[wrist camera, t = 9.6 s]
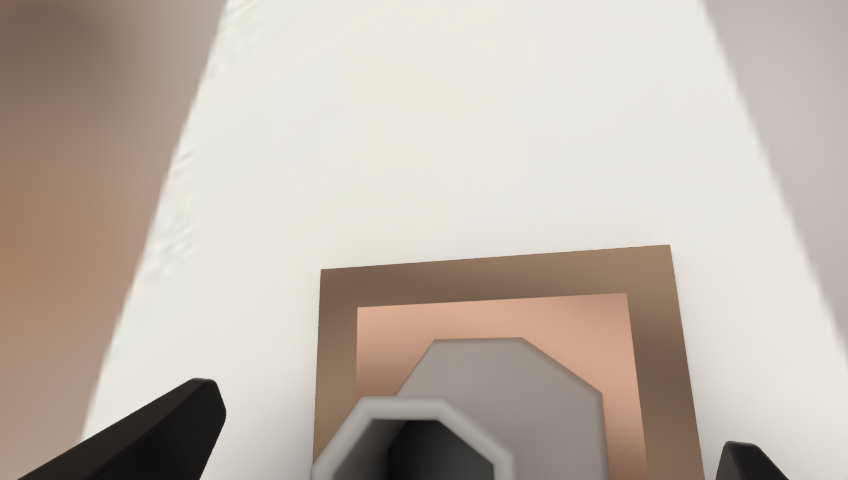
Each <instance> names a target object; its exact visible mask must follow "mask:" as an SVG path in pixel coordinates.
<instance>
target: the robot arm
mask: <svg viewBox="0 0 848 480" xmlns="http://www.w3.org/2000/svg"><path fill="white" fill-rule="evenodd" d="M225 419H226V408H225V405H224V402H223V399H222V397H221V394H220V391H219V388H218V385H217V383H216V382H215V381H214V380H211V379H204V378H193V379H191V380H189V381H187V382H185V383H183V384H182V385H180V386H178V387H177V388H175V389H173V390H171V391H170V392H168V393H166V394H165V395H163V396H161V397H159V398H158V399H156V400H154V401H152V402H151V403H149V404H147V405H146V406H144V407H142V408H140V409H139V410H137V411H135V412H133V413H132V414H130V415H128V416H127V417H125V418H123V419H121V420H120V421H118V422H116V423H114V424H113V425H111V426H109V427H108V428H106V429H104V430H102V431H101V432H99V433H97V434H95V435H94V436H92V437H90V438H89V439H87V440H85V441H83V442H82V443H80V444H78V445H76V446H75V447H73V448H71V449H70V450H68V451H66V452H65V453H63V454H61V455H59V456H57V457H56V458H54V459H52V460H51V461H49V462H47V463H45V464H44V465H42V466H40V467H39V468H37V469H35V470H33V471H31V472H30V473H28V474H26V475H25V476H23V477H21V478H19V479H18V480H200V477H201V475H202V473H203V471H204V468H205V466H206V464H207V462H208V459H209V457H210V455H211V452H212V450H213V448H214V446H215V443H216V441H217V439H218V437H219V434H220V432H221V430H222V427H223V425H224V423H225ZM716 480H789V479H788V478H787V477H786V476H785V475H784V474H783V473H782V472H781V471H780V470H779V468H778V467H777V466H776V465H775V464H774V463H773V462H772V461H771V460H770V459H769V457H768V456H767V455H766V454H765V453H764V452H763V451H762V450H761V449H760V448H759V447H758V446H756V445H755V444H751V443H744V442H735V441H728V442H726V443H725V445H724V447H723V451H722V455H721V459H720V463H719V467H718V471H717V475H716Z"/></svg>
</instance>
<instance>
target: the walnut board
mask: <svg viewBox="0 0 848 480" xmlns="http://www.w3.org/2000/svg"><path fill="white" fill-rule="evenodd" d="M507 337H523V338H524V339H526V340H527V341H528V342H530V343H531V344H533V345H534V346H536V347H537V348H538V349H540V350H541V351H543V352H544V353H546V354H547V355H548V356H550V357H551V358H553V359H554V360H556V361H557V362H559V363H560V364H561V365H563V366H564V367H566V368H567V369H569V370H570V371H571V372H573V373H574V374H576V375H577V376H579V377H580V378H582V379H583V380H584V381H586V382H587V383H589V384H590V385H592V386H593V387H594V388H596V389H597V390H599V391H600V392H602V398H603V409H604V420H605V432H606V443H607V454H608V466H609V477H610V480H705V478H704V472H703V465H702V458H701V451H700V445H699V438H698V431H697V424H696V418H695V411H694V404H693V397H692V391H691V384H690V377H689V371H688V364H687V357H686V350H685V344H684V337H683V330H682V323H681V317H680V310H679V303H678V296H677V290H676V283H675V276H674V269H673V263H672V256H671V249H670V245H657V246H643V247H629V248H615V249H601V250H587V251H573V252H559V253H545V254H531V255H517V256H503V257H489V258H475V259H461V260H447V261H433V262H419V263H405V264H391V265H377V266H363V267H349V268H336V269H322V270H321V278H320V302H319V326H318V350H317V374H316V398H315V422H314V446H313V464H314V463H315V462H316V460H317V459H318V457H319V456H320V455H321V453H322V452H323V450H324V449H325V448H326V446H327V445H328V443H329V442H330V441H331V439H332V438H333V436H334V435H335V434H336V432H337V431H338V429H339V428H340V427H341V425H342V424H343V422H344V421H345V420H346V418H347V417H348V415H349V414H350V413H351V411H352V410H353V408H354V407H355V406H356V404H357V403H358V401H359V400H360V399H361V397H366V396H395V394H396V393H397V391H398V390H399V389H400V387H401V386H402V384H403V383H404V381H405V380H406V379H407V377H408V376H409V374H410V373H411V372H412V370H413V369H414V367H415V366H416V365H417V363H418V362H419V360H420V359H421V357H422V356H423V355H424V353H425V352H426V350H427V349H428V348H429V346H430V345H431V343H432V342H433V340H434V339H467V338H507Z"/></svg>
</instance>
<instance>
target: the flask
mask: <svg viewBox="0 0 848 480" xmlns="http://www.w3.org/2000/svg"><path fill="white" fill-rule="evenodd" d="M311 480H610V477H609V466H608V454H607V443H606V432H605V420H604V409H603V398H602V392H600V391H599V390H597V389H596V388H594V387H593V386H592V385H590V384H589V383H587V382H586V381H584V380H583V379H582V378H580V377H579V376H577V375H576V374H574V373H573V372H571V371H570V370H569V369H567V368H566V367H564V366H563V365H561V364H560V363H559V362H557V361H556V360H554V359H553V358H551V357H550V356H548V355H547V354H546V353H544V352H543V351H541V350H540V349H538V348H537V347H536V346H534V345H533V344H531V343H530V342H528V341H527V340H526V339H524V338H523V337H507V338H467V339H434V340H433V342H432V343H431V345H430V346H429V348H428V349H427V350H426V352H425V353H424V355H423V356H422V357H421V359H420V360H419V362H418V363H417V365H416V366H415V367H414V369H413V370H412V372H411V373H410V374H409V376H408V377H407V379H406V380H405V381H404V383H403V384H402V386H401V387H400V389H399V390H398V391H397V393H396V394H395V396H366V397H361V399H360V400H359V401H358V403H357V404H356V406H355V407H354V408H353V410H352V411H351V413H350V414H349V415H348V417H347V418H346V420H345V421H344V422H343V424H342V425H341V427H340V428H339V429H338V431H337V432H336V434H335V435H334V436H333V438H332V439H331V441H330V442H329V443H328V445H327V446H326V448H325V449H324V450H323V452H322V453H321V455H320V456H319V457H318V459H317V460H316V462H315V463H314V464H313V466H312V467H311Z"/></svg>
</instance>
